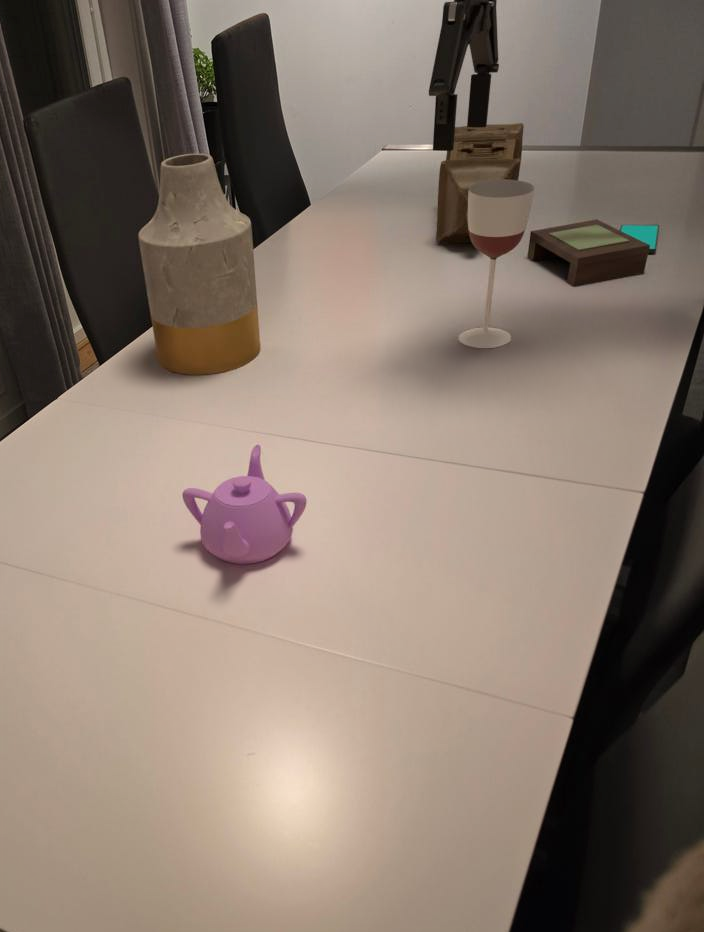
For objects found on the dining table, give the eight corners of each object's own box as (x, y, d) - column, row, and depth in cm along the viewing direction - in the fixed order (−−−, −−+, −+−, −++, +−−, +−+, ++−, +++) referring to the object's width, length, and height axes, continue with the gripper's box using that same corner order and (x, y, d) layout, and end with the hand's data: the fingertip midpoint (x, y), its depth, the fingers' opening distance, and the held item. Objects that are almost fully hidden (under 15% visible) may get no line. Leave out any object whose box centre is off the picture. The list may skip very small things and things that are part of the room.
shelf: (643, 273, 155) (650, 243, 152) (573, 286, 154) (578, 257, 150) (591, 245, 168) (597, 218, 165) (526, 257, 167) (530, 229, 164)
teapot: (262, 502, 110) (258, 442, 104) (319, 553, 101) (317, 490, 95) (182, 532, 107) (172, 472, 101) (232, 588, 97) (225, 525, 91)
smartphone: (659, 224, 171) (656, 249, 161) (658, 229, 171) (655, 253, 161) (620, 224, 173) (615, 248, 163) (619, 228, 174) (614, 252, 164)
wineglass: (480, 354, 137) (497, 201, 121) (444, 335, 144) (455, 188, 128) (526, 340, 139) (548, 188, 124) (488, 321, 146) (504, 176, 131)
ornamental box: (507, 271, 169) (532, 171, 156) (419, 261, 172) (437, 162, 159) (511, 214, 193) (534, 123, 180) (435, 206, 196) (451, 116, 183)
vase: (163, 382, 141) (132, 183, 121) (153, 340, 155) (123, 156, 134) (269, 364, 142) (256, 164, 122) (250, 325, 156) (235, 139, 135)
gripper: (479, -61, 115) (465, 117, 129) (408, -40, 100) (401, 159, 114) (534, -66, 111) (514, 118, 125) (469, -45, 96) (454, 161, 111)
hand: (460, 138), depth 120 cm, fingers open, 13 cm apart
